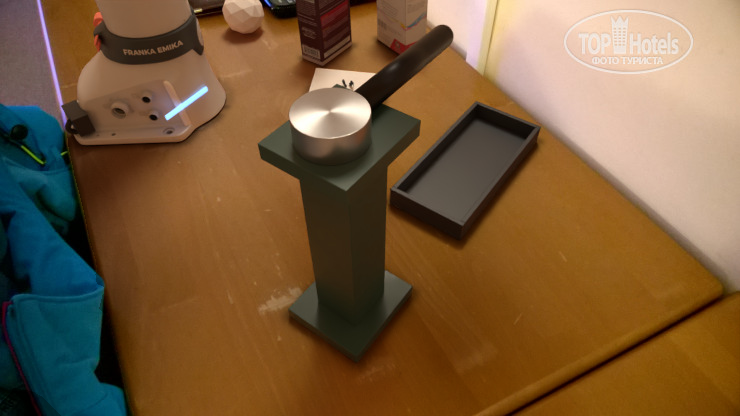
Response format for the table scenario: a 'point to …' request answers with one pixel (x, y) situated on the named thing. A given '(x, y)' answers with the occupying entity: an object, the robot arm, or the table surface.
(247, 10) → the ornament
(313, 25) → the supplement box
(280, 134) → the stand
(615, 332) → the table surface
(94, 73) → the robot arm
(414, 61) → the scoop
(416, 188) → the tray
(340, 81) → the folded paper
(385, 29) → the ink box
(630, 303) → the table surface
